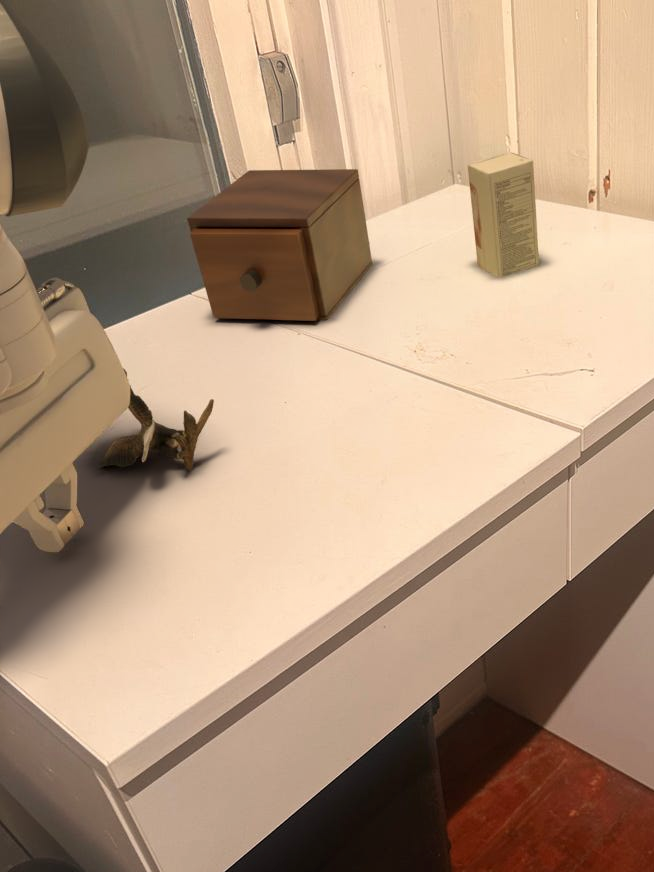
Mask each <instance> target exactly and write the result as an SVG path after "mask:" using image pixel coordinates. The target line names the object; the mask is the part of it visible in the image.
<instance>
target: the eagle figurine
mask: <svg viewBox="0 0 654 872" xmlns="http://www.w3.org/2000/svg"><path fill="white" fill-rule="evenodd" d="M123 369H124V372H125V374H126V376H127V377H128V372H127V371H126V369H125V368H124V367H123ZM214 402H215V400H214V399H213V398H211V399H209V401H208V404H207V406H206V407H205V409H204V410H203V411H202V413H201V415H200V417H199V419H198V421H196V418H195V416H194V415H192V414H191V413H189V412H188V411H187V410H183V422H182V424H183V430H182V429H181V430H180V429H175V428H170V427H167V426H166V425H164V424H162V423H158V422H157V421H155V419H153V413H152V410H151V409H150V408H149V406H148V405H147V403H146V402H145V401H144V400H143V398H142V397H141V396H140V395H138V394H135V393H134V390H133V388H132V385H130V405H129V407H128V408H127V409H128V410H129V412H130V413H131V414H132V415H133V417H134V418H135V419H136V420H137V421H138V422H139V424H140V430H139V432H138V433H136V434H133V435H125V436H121V437H118V438H116V440H114V441H112V443H111V445H110V446H109V447H108V450H107V451H106V453H105V454H104V456H103V457H102V458H101V460H100V461H99V463H98V467H99V468H100V469H103V468H104V467H109V466H117V467H120V468H123V467H125V468H126V467H128V466H132V465H133V463H135V462H136V460H137V458H138V457H140V456H141V453H142V457H141V462H142V463H144V462H146V460H147V457H148V455H149V452H155V453H160V454H161V455H163V456H165V457H169V458H171V459H176V460H182V461H183V466H184V468H185V469H186V470H187V471H188V472H191V471H193V470H194V463H195V461H194V459H195V451H196V447H197V443H198V439H199V436H200V435H201V433H202V431H203V429H204V428H205V426H206V423H207V421H208V420H209V418H210V416H211V414H212V412H213V408H214ZM178 446H179V448H180V451H179V450H178V449H176V448H177V447H178Z"/></svg>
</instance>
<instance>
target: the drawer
mask: <svg viewBox="0 0 654 872" xmlns="http://www.w3.org/2000/svg"><path fill="white" fill-rule="evenodd" d="M210 228H211V229H195V230H194V231H192V232H191V231H190V233H189V235H190V240H191V243H192V246H193V249H194V253H195V257H196V260H197V261H196V262H197V264H198V268H199V271H200V274H201V278H202V282H203V285H204V288H205V292H206V295H207V299H208V303H209V306H210V309H211V313H212V317H213V318H214V319H234V320H235V319H236V320H237V319H239V320H268V321H269V320H271V321H272V320H273V321H274V320H275V321H278V320H279V321H308V322H309V321H311V322H315V321H317V320H316V319H317V318H318V317H319V310H318V305H317V300H316V295H315V290H314V285H313V280H312V275H311V270H310V265H309V260H308V256H307V251H306V246H305V241H304V236H303V231H302V229H301V227H210Z"/></svg>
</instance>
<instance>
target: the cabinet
mask: <svg viewBox="0 0 654 872" xmlns="http://www.w3.org/2000/svg"><path fill="white" fill-rule="evenodd" d="M186 220H187V223H188V227H189V231H190V233H191V232H192V231H194V230H195V229H211V228H210V227H301V229H302V231H303V236H304V241H305V246H306V251H307V256H308V260H309V265H310V270H311V275H312V280H313V285H314V290H315V295H316V300H317V305H318V310H319V317H318V318H317V319H316V321H328V320H329V319H330V317H331V316H332V315H333V314H334V313H335V311H336V310H337V309H338V308H339V306H340V305H341V304H342V303H343V301H345V299H346V298H347V296H348V295H349V294H350V293H351V292H352V290H353V289H354V288H355V286H357V284H358V283H359V282H360V280H361V279H362V278H363V277H364V275H366V273H367V272H368V270H369V269H370V268H371V267H372V266H373V259H372V252H371V246H370V239H369V233H368V226H367V221H366V213H365V206H364V200H363V192H362V187H361V181H360V174H359V169H357V168H347V169H346V168H345V169H344V168H341V169H340V168H339V169H338V168H337V169H335V168H333V169H253V170H252V169H251V170H248V171H246V172H245V173H244V174H242V175H241V176H240V177H238V178H237V179H236V180H235V181H234V182H232V183H231V184H229V185H228V186H226V188H224V189H223V190H222V191H220V192H219V193H218V194H217V195H215V196H214V197H213V198H211V199H210V200H208V201H207V202H206V203H204V204H203V205H202V206H201V207H199V208H198V209H197V210H195V211H194V212H193V213H192V214H190V215H188V216H187V218H186Z"/></svg>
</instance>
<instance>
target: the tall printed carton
mask: <svg viewBox="0 0 654 872" xmlns="http://www.w3.org/2000/svg"><path fill="white" fill-rule="evenodd" d="M534 167H535V166H534V160H533V159H531V158H529V157H526V156H523V155H520V154H518V153H515V152H511V151H508V152H504V153H501V154H498V155H495V156H491V157H486V158H483V159H481V160H478V161H474V162H471V163H468V164H467V173H468V182H469V191H470V192H469V193H470V200H471V201H470V202H471V215H472V223H473V232H474V242H475V250H476V251H475V252H476V253H475V254H476V262H477V263H476V264H477V267H479V268H481V269H482V270H484V271H485V272H488V274H491V275H492V276H494V277H496V278H501V277H505V276H508V275H511V274H515V273H518V272H521V271H524V270H527V269H530V268H533V267H536V266H539V265H540V258H539V256H540V255H539V242H538V240H539V239H538V222H537V221H538V220H537V206H536V205H537V204H536V188H535V187H536V186H535V185H536V184H535V172H534V171H535V170H534Z"/></svg>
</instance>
